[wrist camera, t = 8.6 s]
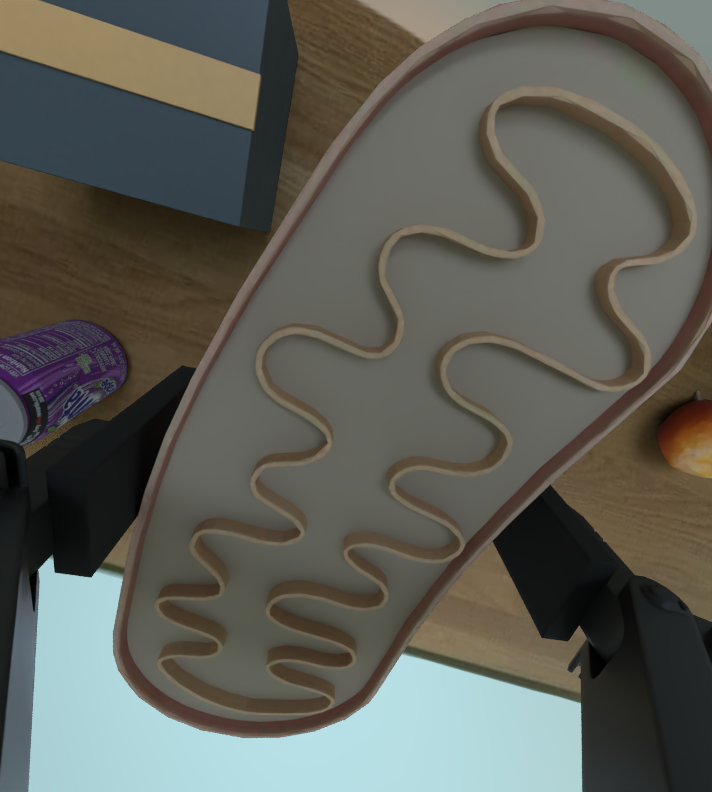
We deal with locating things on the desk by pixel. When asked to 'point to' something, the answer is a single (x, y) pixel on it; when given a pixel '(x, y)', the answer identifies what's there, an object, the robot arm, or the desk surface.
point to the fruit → (689, 438)
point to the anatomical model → (421, 358)
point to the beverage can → (55, 377)
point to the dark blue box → (152, 99)
